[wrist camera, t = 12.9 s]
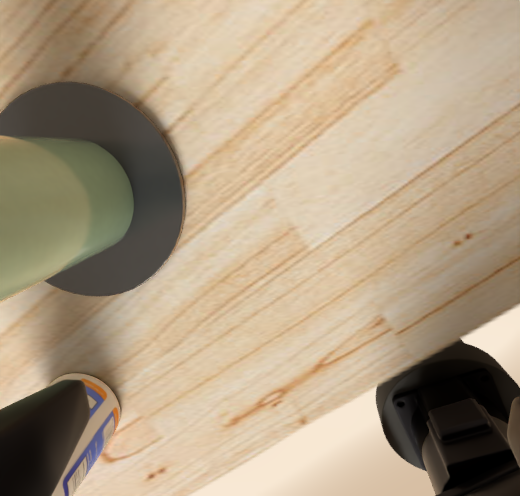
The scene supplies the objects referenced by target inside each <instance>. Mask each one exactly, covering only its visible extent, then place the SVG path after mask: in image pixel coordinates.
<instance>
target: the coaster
mask: <svg viewBox="0 0 520 496" xmlns="http://www.w3.org/2000/svg"><path fill="white" fill-rule="evenodd" d="M0 135H9V136H34V137H58V138H78V139H84V140H87V141H90V142H93V143H95V144H97V145H99V146H100V147H102V148H104V149H105V150H106V151H108V152H109V153H110V154H111V155H112V156H113V157H114V158H115V159H116V160H117V161H118V162H119V164H120V165H121V166H122V168H123V169H124V171H125V173H126V174H127V177H128V179H129V181H130V184H131V187H132V191H133V197H134V211H133V217H132V220H131V223H130V226H129V228H128V230H127V232H126V233H125V235H124V236H123V237H122V238H121V239H120V240H119V241H118V242H117V243H116V244H114V245H113V246H111V247H110V248H108V249H106V250H104V251H102V252H100V253H98V254H96V255H94V256H92V257H90V258H88V259H86V260H84V261H82V262H80V263H78V264H76V265H74V266H72V267H70V268H68V269H66V270H64V271H62V272H60V273H58V274H56V275H54V276H53V277H51V278H49V279H47V280H45V282H47V283H49V284H50V285H53V286H55V287H57V288H59V289H62V290H65V291H68V292H71V293H74V294H80V295H85V296H110V295H115V294H120V293H124V292H126V291H129V290H132V289H134V288H136V287H138V286H140V285H141V284H143V283H145V282H146V281H147V280H149V279H150V278H151V277H153V276H154V275H155V274H156V273H157V272H158V271H159V270H160V269H161V268H162V267H163V266H164V265H165V264H166V262H167V261H168V260H169V258H170V257H171V255H172V254H173V252H174V250H175V248H176V246H177V244H178V241H179V238H180V236H181V233H182V229H183V224H184V219H185V190H184V185H183V179H182V175H181V172H180V168H179V165H178V162H177V160H176V158H175V155H174V153H173V151H172V149H171V147H170V145H169V144H168V142H167V140H166V139H165V137H164V135H163V134H162V133H161V131H160V130H159V129H158V128H157V126H156V125H155V124H154V123H153V122H152V121H151V120H150V119H149V118H148V117H147V115H146V114H145V113H144V112H142V111H141V110H140V109H139V108H137V107H136V106H135V105H134V104H132V103H131V102H129V101H128V100H126V99H124V98H123V97H121V96H119V95H118V94H115V93H113V92H111V91H108V90H106V89H103V88H100V87H96V86H93V85H89V84H85V83H77V82H56V83H51V84H45V85H42V86H39V87H36V88H33V89H31V90H29V91H27V92H26V93H24V94H22V95H20V96H19V97H17V98H16V99H15V100H14V101H12V102H11V103H10V104H9V105H8V106H7V107H6V108H5V109H4V110H3V111H2V112H1V114H0Z"/></svg>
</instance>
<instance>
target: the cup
mask: <svg viewBox="0 0 520 496" xmlns="http://www.w3.org/2000/svg"><path fill="white" fill-rule="evenodd" d="M133 211H134V197H133V191H132V187H131V184H130V181H129V179H128V177H127V174H126V173H125V171H124V169H123V168H122V166H121V165H120V164H119V162H118V161H117V160H116V159H115V158H114V157H113V156H112V155H111V154H110V153H109V152H108V151H106V150H105V149H104V148H102V147H100V146H99V145H97V144H95V143H93V142H90V141H87V140H84V139H78V138H58V137H34V136H9V135H0V303H1V302H3V301H5V300H7V299H9V298H11V297H13V296H15V295H17V294H19V293H21V292H23V291H25V290H27V289H29V288H31V287H33V286H35V285H37V284H39V283H41V282H43V281H45V280H47V279H49V278H51V277H53V276H54V275H56V274H58V273H60V272H62V271H64V270H66V269H68V268H70V267H72V266H74V265H76V264H78V263H80V262H82V261H84V260H86V259H88V258H90V257H92V256H94V255H96V254H98V253H100V252H102V251H104V250H106V249H108V248H110V247H111V246H113V245H114V244H116V243H117V242H118V241H119V240H120V239H121V238H122V237H123V236H124V235H125V233H126V232H127V230H128V228H129V226H130V223H131V220H132V217H133Z"/></svg>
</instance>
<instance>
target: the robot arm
mask: <svg viewBox="0 0 520 496" xmlns="http://www.w3.org/2000/svg"><path fill="white" fill-rule="evenodd" d="M483 375H486V376H485V377H484V378H480V377H481V376H483ZM399 401H403V402H402V403H398V402H399ZM392 403H393V406H394V408H395V410H396V412H397V414H398V417H399V419H400V421H401V423H402V425H403V427H404V430H405V432H406V434H407V436H408V438H409V440H410V442H411V445H412V447H413V449H414V451H415V453H416V455H417V457H418V460H419V462H420V464H421V466H422V468H423V470H425V471H427V472H428V475H429V478H430V480H431V483H432V486H433V488H434V491H435V494H436V496H520V397H516V398H515V399H514V400H513V401H512V405H511V411H510V417H508V415H507V412H506V409H505V407H504V404H503V402H502V399H501V397H500V394H499V392H498V389H497V387H496V384H495V382H494V379H493V376H492V375H491V373H490V372H489V371H488V370H487V369H484V368H480V369H476V370H473V371H470V372H467V373H463V374H460V375H457V376H454V377H451V378H448V379H444V380H441V381H438V382H435V383H432V384H428V385H425V386H422V387H419V388H416V389H413V390H409V391H406V392H403V393H400V394H397V395H395V396H394V397H393V398H392ZM89 418H90V406H89V401H88V396H87V391H86V386H85V384H84V382H83V381H81V380H72V379H65V380H62V381H60V382H57V383H55V384H53V385H51V386H49V387H47V388H45V389H43V390H41V391H38V392H36V393H34V394H32V395H30V396H28V397H26V398H24V399H22V400H19V401H17V402H15V403H13V404H11V405H9V406H7V407H5V408H3V409H1V410H0V496H52V494H53V492H54V490H55V488H56V487H57V485H58V483H59V481H60V479H61V477H62V475H63V473H64V471H65V469H66V467H67V465H68V463H69V461H70V459H71V457H72V454H73V452H74V450H75V448H76V446H77V444H78V442H79V440H80V438H81V436H82V434H83V432H84V430H85V428H86V426H87V424H88V422H89Z"/></svg>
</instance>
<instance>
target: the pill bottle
mask: <svg viewBox="0 0 520 496" xmlns="http://www.w3.org/2000/svg"><path fill="white" fill-rule="evenodd" d="M65 379H72V380H81V381H83V382H84V384H85V386H86V391H87V396H88V401H89V406H90V418H89V422H88V424H87V426H86V428H85V430H84V432H83V434H82V436H81V438H80V440H79V442H78V444H77V446H76V448H75V450H74V452H73V454H72V457H71V459H70V461H69V463H68V465H67V467H66V469H65V471H64V473H63V475H62V477H61V479H60V481H59V483H58V485H57V487H56V488H55V490H54V492H53V494H52V496H73V495H74V493H75V492H76V490H77V489H78V487H79V486H80V484H81V482H82V481H83V479H84V478H85V476H86V475H87V473H88V472H89V470H90V469H91V467H92V466H93V464H94V463H95V461H96V460H97V458H98V457H99V455H100V454H101V452H102V451H103V449H104V448H105V446H106V445H107V443H108V442H109V440H110V438H111V437H112V436H113V434H114V432H115V430H116V428H117V426H118V424H119V421H120V407H119V403H118V401H117V398H116V396H115V395H114V393H113V392H112V390H111V389H110V388H109V387H108V386H107V385H106V384H105V383H103V382H102V381H101V380H99V379H97V378H95V377H92V376H89V375H86V374H80V373H71V374H66V375H63V376H60V377H58V378H57V379H55V380H54V381H53V382H52V383H50V384H49V385H48V386H47V387H49V386H51V385H53V384H55V383H57V382H60V381H62V380H65ZM47 387H46V388H47Z"/></svg>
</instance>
